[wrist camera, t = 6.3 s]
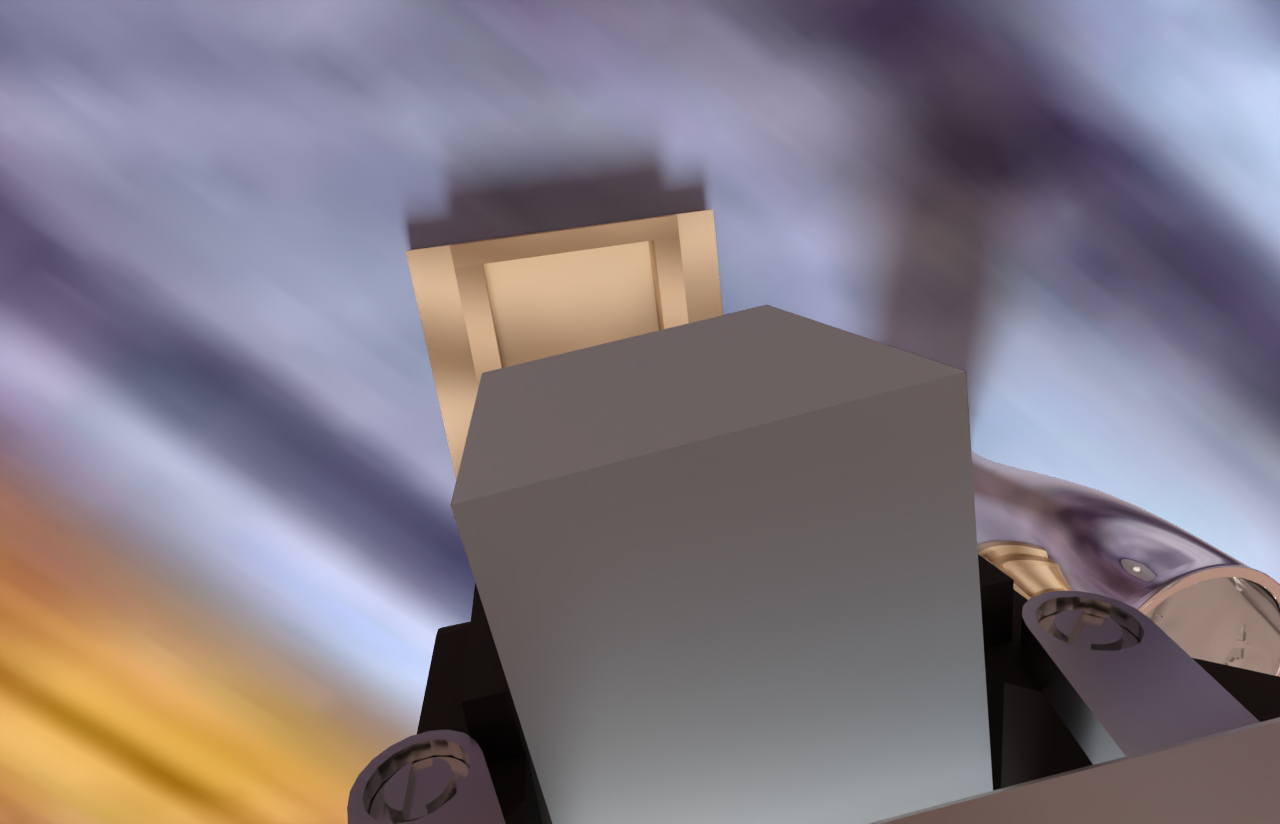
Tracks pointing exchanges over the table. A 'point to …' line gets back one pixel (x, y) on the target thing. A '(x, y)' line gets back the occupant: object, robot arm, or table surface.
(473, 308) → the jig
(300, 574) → the table surface
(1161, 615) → the beer glass
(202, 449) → the table surface
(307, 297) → the table surface
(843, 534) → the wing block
